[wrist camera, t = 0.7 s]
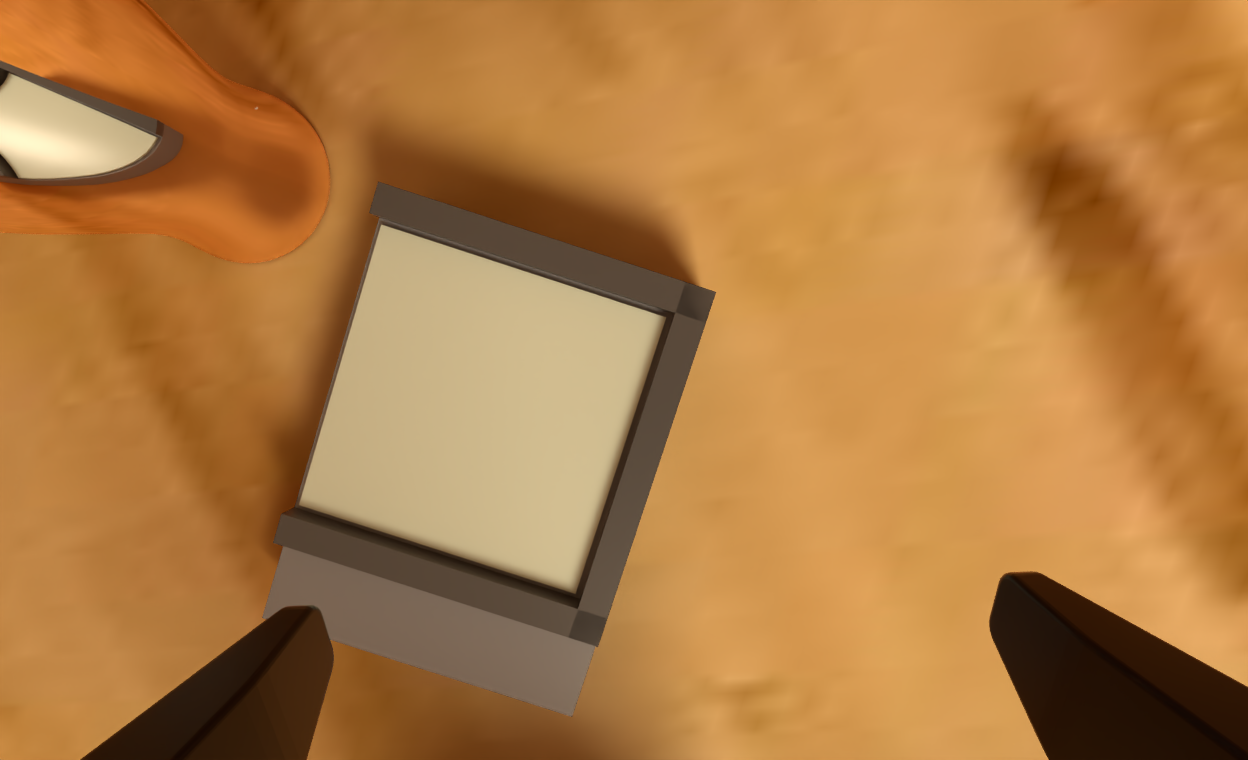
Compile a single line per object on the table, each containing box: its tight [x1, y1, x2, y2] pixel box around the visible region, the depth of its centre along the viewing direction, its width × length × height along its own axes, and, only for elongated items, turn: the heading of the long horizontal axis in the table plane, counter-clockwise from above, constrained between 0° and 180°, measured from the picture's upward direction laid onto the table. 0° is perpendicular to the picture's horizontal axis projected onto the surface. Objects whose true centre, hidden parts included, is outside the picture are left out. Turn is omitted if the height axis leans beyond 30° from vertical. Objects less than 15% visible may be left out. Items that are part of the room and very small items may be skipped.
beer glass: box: [0, 0, 330, 263], centre depth 16 cm, size 7×7×15 cm
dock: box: [262, 182, 716, 717], centre depth 22 cm, size 15×11×3 cm
